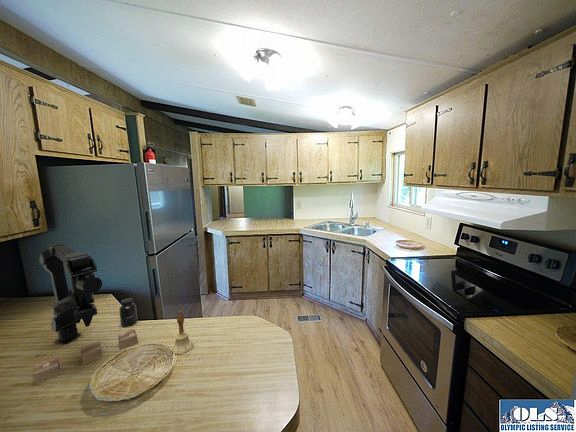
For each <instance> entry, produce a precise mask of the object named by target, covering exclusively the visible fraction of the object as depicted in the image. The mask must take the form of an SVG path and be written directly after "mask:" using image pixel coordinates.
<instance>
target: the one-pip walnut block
mask: <svg viewBox="0 0 576 432" xmlns="http://www.w3.org/2000/svg"><path fill="white" fill-rule="evenodd" d="M60 367H61V366H60V360H59V356H57V357H53V358H50V359H49V360H46V361H43V362H40V363H37V364H34V370H33V379H34V384H35V385H39V384H40V383H42V382H46V381H48V380H50V379H53V378H56V377H57V376H60V371H61V368H60Z"/></svg>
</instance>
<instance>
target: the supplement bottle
mask: <svg viewBox="0 0 576 432" xmlns="http://www.w3.org/2000/svg"><path fill="white" fill-rule="evenodd" d="M118 310H119V320H120V322H119V323H120V326H121V327H123V328H127V327H131V326H133V325H135V324H137V322H138V314H137V313H138V311H137V305H136V303H134V299H133V298H132V297H127V298H124V299H122V300H121V301H120V307H119V309H118Z"/></svg>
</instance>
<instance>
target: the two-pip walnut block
mask: <svg viewBox="0 0 576 432" xmlns="http://www.w3.org/2000/svg"><path fill="white" fill-rule="evenodd" d="M137 334H138V333H137V332H136V329H135V328H133V329H130V330H127V331H124V332H121V333H118V334H117V336H118V337H117V338H118V344H119V348H120V350H123V349H126V348H129V347H132V346H134V345H137V344H139V341H138V335H137Z"/></svg>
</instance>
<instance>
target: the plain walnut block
mask: <svg viewBox="0 0 576 432" xmlns="http://www.w3.org/2000/svg"><path fill="white" fill-rule="evenodd" d="M80 354H81V355H80V356H81V361H82V365H83V366H84V365H86V364H89V363H92V362H94V361H96V360H99V359H101V358H103V357H104V355H103V348H102V344H101V341H100V340H99V341H97V342H93V343H90V344H89V345H86V346H84V347H81V348H80Z"/></svg>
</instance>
